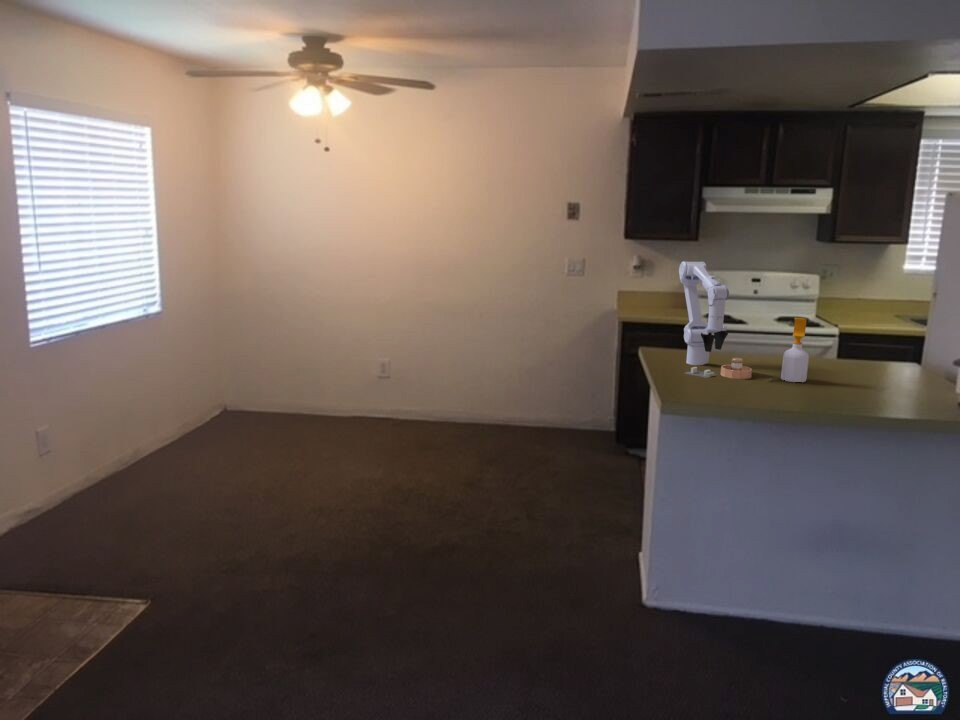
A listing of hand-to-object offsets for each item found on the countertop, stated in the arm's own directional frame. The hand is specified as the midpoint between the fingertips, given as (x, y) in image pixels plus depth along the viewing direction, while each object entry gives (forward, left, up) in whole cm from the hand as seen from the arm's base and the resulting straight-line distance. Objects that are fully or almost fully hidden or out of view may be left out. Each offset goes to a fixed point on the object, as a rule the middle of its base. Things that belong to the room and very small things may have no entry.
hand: (713, 350), depth 286 cm
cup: (-1, +10, -9) cm, 14 cm away
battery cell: (-1, +10, -9) cm, 13 cm away
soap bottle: (-16, +26, -10) cm, 32 cm away
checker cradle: (+8, 0, -9) cm, 12 cm away
